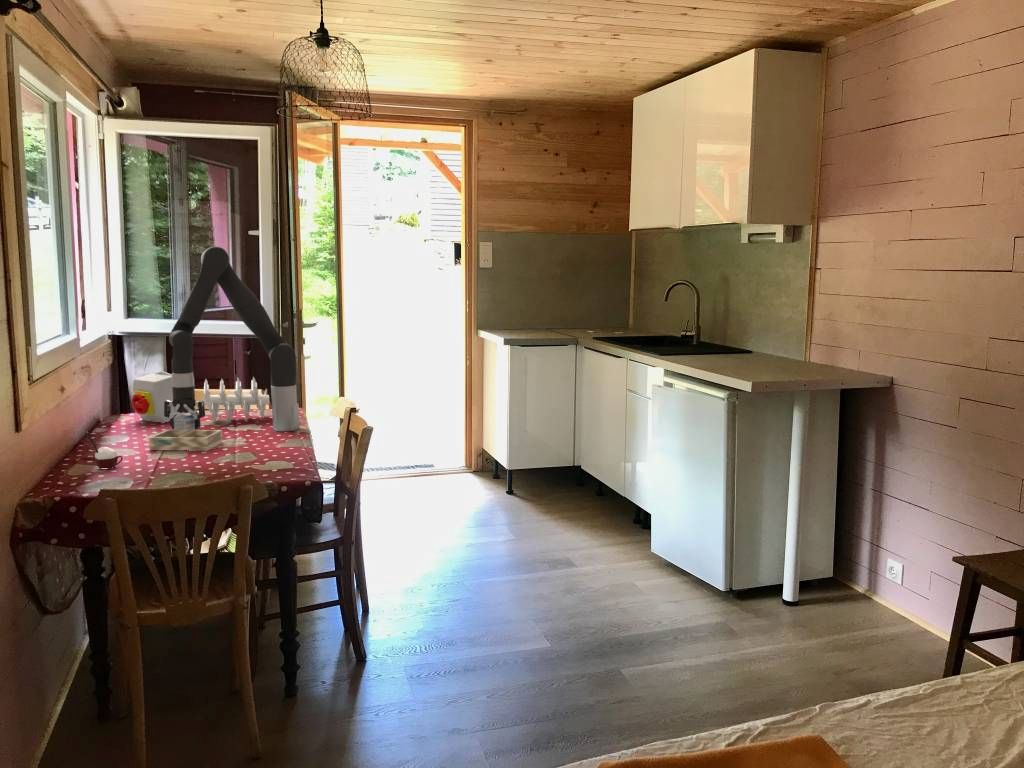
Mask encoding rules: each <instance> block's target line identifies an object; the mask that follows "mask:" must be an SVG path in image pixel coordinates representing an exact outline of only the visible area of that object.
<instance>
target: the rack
mask: <svg viewBox="0 0 1024 768" xmlns="http://www.w3.org/2000/svg"><path fill="white" fill-rule="evenodd" d="M148 442H149V443H148V444H149V451H150V450H187V451H186V452H208V451H210V450H212V449H213V448H215V447H217V446H219V445H220V444H223V430H222V429H221V430H220V429H219V430H218V429H217V430H216V429H201V430H200V429H198V430H175V429H165V430H163V431H162V432H159V433H156V434H154V435H151V436H150V437H148ZM188 450H189V451H188Z"/></svg>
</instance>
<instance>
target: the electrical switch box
mask: <svg viewBox="0 0 1024 768" xmlns="http://www.w3.org/2000/svg"><path fill="white" fill-rule="evenodd" d="M132 391H133V395H132V398H131V404H132V407H133V410H134V411H135V412H136V413H137V414H138V415H139V417H140V418H141V420H142V421H145V422H151V421H152V423H157V422H161V423H160V424H163V423H164V424H166V423H165V422H167V423H170V422H169V421H170V418H168V417H165V416H164V402H165V401H167V400H170V401H173V394H172V373H168V372H166V371H158V372H153V373H150V374H146V375H143V376H139V377H137V378H134V379H133V382H132ZM174 408H175V407H174V406H173V405H172V406H171V413H172V411H173V410H174ZM180 415H184V412H183V413H178V414H177V415H176V417H177V416H180Z"/></svg>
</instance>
